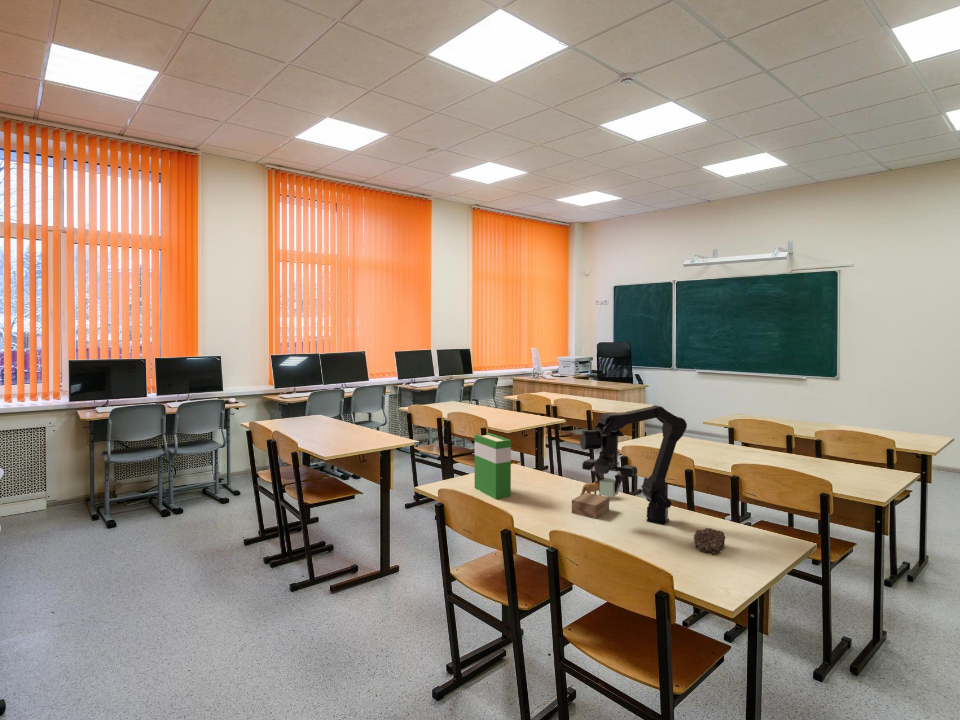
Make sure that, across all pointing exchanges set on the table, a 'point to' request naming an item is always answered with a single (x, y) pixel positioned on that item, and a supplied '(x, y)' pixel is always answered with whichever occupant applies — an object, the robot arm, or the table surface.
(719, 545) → the brown rock
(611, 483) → the sage cube
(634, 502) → the table surface
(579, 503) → the walnut block
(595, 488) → the lion figurine
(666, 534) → the table surface
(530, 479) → the table surface
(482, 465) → the hardback book
